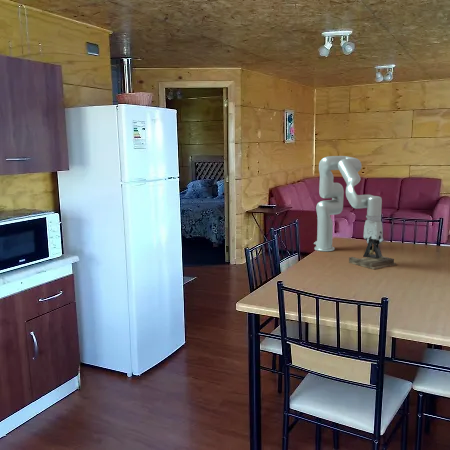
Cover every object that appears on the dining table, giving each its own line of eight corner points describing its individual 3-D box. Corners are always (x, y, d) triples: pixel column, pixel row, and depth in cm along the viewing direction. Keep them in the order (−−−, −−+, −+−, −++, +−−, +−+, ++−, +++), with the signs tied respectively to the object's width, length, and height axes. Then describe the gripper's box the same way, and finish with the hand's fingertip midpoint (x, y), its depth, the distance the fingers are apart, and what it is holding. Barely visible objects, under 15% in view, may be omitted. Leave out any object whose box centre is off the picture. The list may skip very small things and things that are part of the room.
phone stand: (382, 256, 265) (382, 235, 263) (379, 258, 260) (380, 237, 258) (366, 254, 270) (366, 234, 268) (363, 256, 265) (363, 235, 263)
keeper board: (348, 262, 269) (349, 250, 268) (370, 258, 279) (371, 246, 277) (373, 269, 254) (374, 256, 253) (396, 264, 263) (396, 252, 262)
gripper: (357, 217, 267) (356, 249, 270) (381, 220, 253) (379, 254, 256) (367, 216, 271) (366, 247, 274) (390, 219, 257) (389, 252, 260)
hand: (372, 250), depth 265 cm, fingers closed on phone stand, 3 cm apart
